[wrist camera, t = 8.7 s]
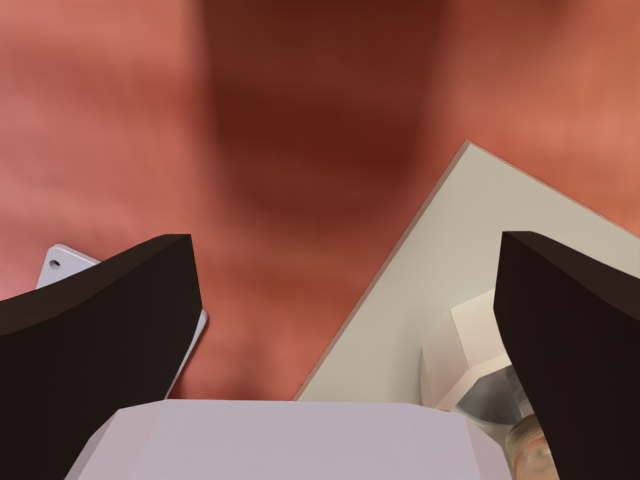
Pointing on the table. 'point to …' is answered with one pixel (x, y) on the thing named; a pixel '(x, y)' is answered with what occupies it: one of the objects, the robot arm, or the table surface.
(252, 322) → the table surface
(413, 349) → the white square-based fixture
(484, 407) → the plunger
